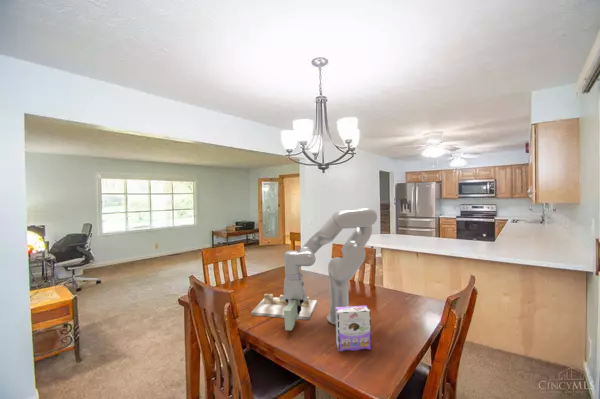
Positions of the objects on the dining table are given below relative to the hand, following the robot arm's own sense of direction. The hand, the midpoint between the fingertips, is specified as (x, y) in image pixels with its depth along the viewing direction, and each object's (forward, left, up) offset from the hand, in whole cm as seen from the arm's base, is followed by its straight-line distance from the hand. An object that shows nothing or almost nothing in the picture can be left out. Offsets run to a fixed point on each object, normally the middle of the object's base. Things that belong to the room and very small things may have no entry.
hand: (295, 312), depth 138 cm
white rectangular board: (+10, -15, -6) cm, 19 cm away
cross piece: (0, +5, -2) cm, 6 cm away
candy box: (-29, +16, -6) cm, 34 cm away
